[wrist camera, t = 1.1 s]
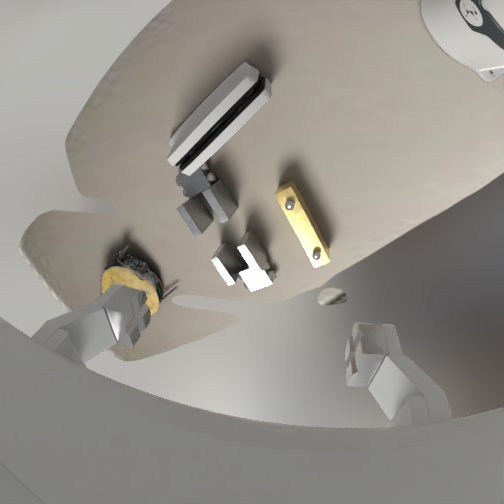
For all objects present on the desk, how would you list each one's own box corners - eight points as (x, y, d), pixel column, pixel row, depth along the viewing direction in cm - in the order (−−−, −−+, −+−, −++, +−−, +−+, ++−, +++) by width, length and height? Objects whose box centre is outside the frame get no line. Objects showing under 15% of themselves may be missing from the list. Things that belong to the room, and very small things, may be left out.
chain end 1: (206, 156, 38) (193, 162, 33) (238, 207, 40) (229, 219, 36) (177, 176, 40) (161, 185, 36) (207, 223, 43) (195, 237, 39)
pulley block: (73, 313, 56) (116, 251, 42) (83, 298, 60) (130, 233, 47) (116, 346, 61) (177, 301, 47) (124, 329, 66) (186, 280, 52)
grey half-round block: (246, 59, 30) (249, 62, 22) (271, 81, 32) (281, 92, 25) (168, 139, 37) (150, 168, 30) (192, 157, 40) (180, 189, 32)
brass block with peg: (292, 179, 37) (290, 188, 33) (328, 248, 41) (329, 264, 37) (278, 186, 38) (273, 196, 34) (314, 254, 42) (314, 270, 38)
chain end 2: (251, 229, 42) (244, 244, 37) (279, 274, 45) (275, 293, 40) (220, 244, 44) (210, 259, 40) (248, 286, 47) (242, 304, 43)
